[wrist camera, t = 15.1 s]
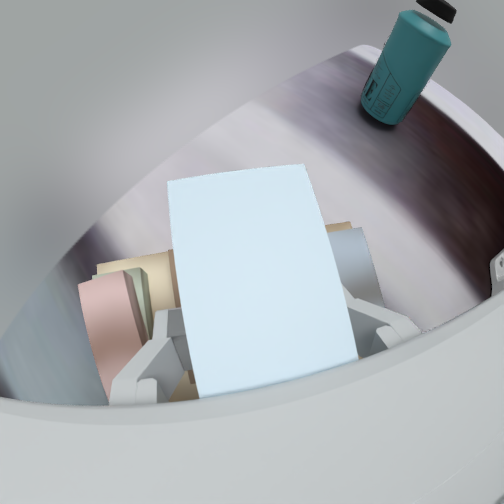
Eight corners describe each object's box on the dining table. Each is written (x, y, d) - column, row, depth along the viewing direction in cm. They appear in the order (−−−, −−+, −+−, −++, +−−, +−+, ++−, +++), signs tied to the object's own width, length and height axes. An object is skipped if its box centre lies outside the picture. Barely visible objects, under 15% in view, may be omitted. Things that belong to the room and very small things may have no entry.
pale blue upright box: (199, 274, 18) (166, 181, 7) (260, 263, 18) (303, 164, 8) (217, 366, 16) (202, 410, 6) (279, 353, 17) (360, 370, 6)
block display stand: (103, 269, 22) (74, 249, 17) (343, 227, 25) (369, 200, 20) (124, 406, 18) (96, 422, 13) (376, 354, 21) (412, 355, 16)
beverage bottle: (405, 133, 30) (480, 26, 11) (368, 133, 29) (443, 2, 10) (383, 100, 32) (440, -5, 13) (345, 98, 31) (399, -25, 12)
